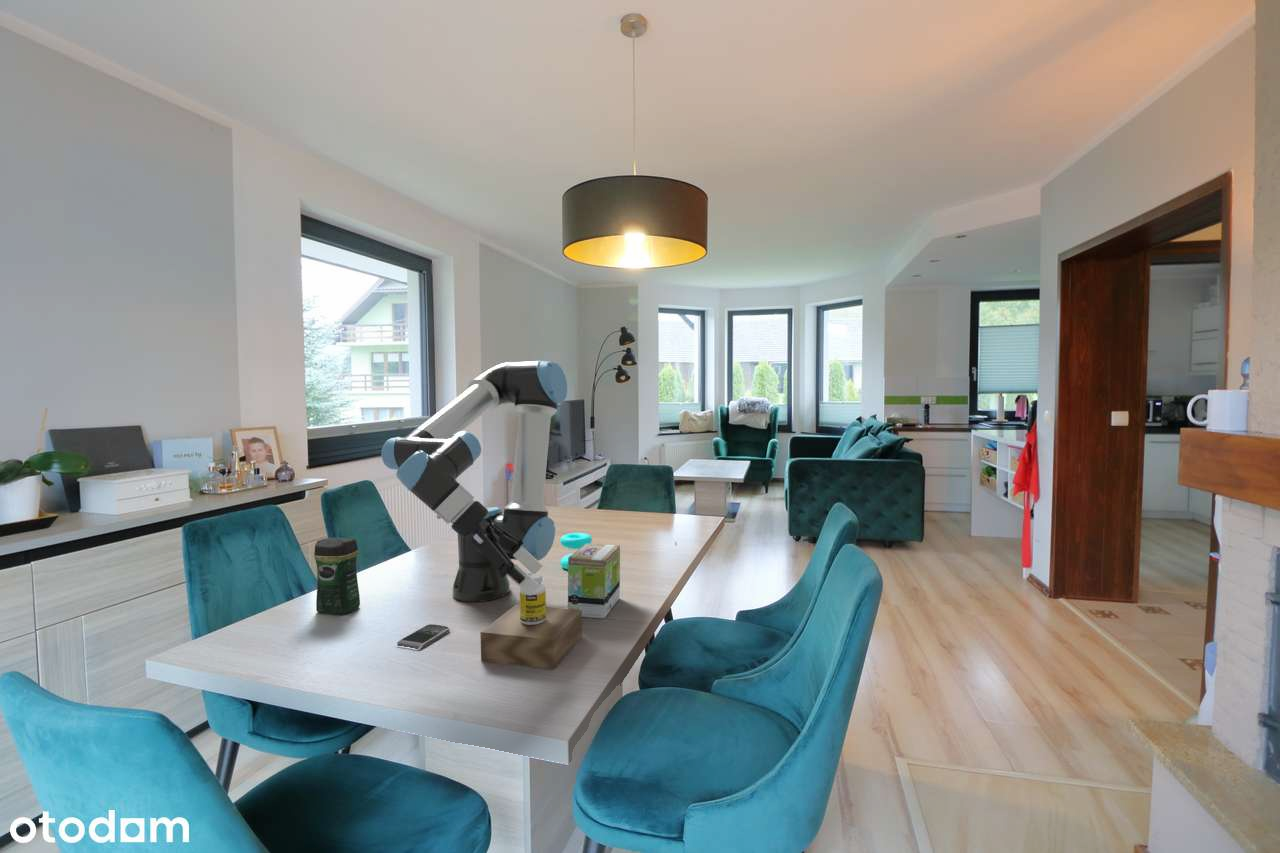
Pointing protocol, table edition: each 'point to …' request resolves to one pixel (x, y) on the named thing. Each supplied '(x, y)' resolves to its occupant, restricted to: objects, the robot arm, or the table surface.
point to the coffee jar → (336, 576)
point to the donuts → (573, 544)
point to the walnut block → (531, 638)
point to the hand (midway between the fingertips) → (536, 579)
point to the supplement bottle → (533, 603)
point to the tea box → (594, 579)
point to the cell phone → (423, 636)
